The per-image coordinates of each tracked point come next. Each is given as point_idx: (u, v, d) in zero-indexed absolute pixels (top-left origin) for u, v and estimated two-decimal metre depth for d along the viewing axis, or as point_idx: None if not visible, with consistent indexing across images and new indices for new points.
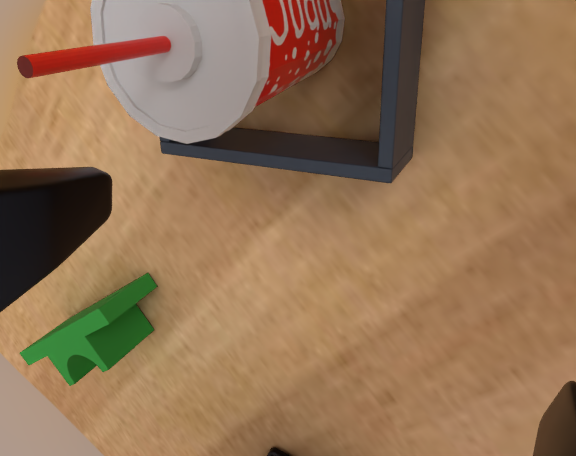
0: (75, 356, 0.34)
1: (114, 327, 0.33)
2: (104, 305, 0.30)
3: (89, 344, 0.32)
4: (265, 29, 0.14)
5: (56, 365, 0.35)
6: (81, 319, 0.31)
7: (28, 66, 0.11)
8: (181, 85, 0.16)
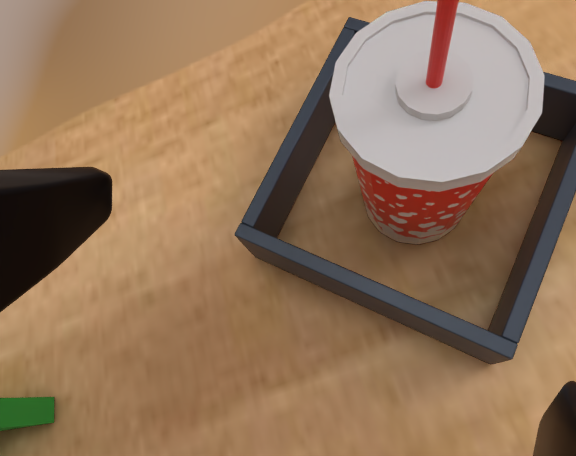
0: None
1: None
2: None
3: None
4: None
5: None
6: None
7: None
8: (422, 125, 0.15)
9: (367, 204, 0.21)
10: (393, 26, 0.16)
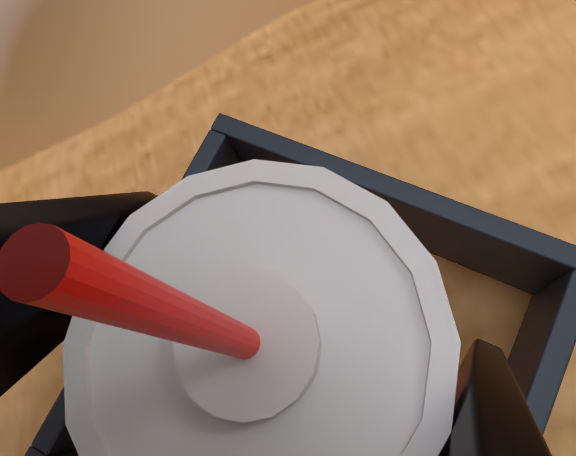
0: None
1: None
2: None
3: None
4: None
5: None
6: None
7: (46, 267, 0.03)
8: (221, 429, 0.07)
9: None
10: (195, 205, 0.09)
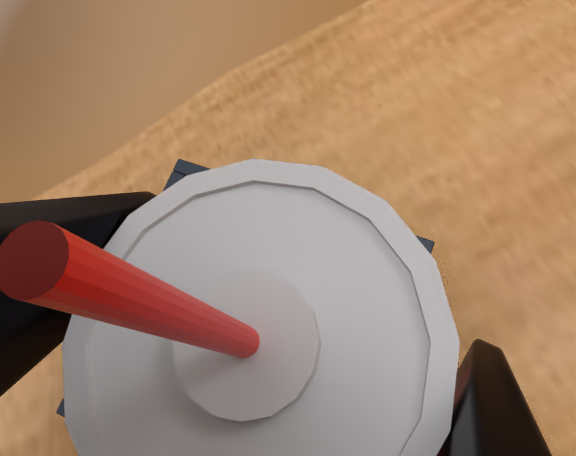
0: None
1: None
2: None
3: None
4: None
5: None
6: None
7: (45, 265, 0.03)
8: (221, 428, 0.07)
9: None
10: (195, 205, 0.09)
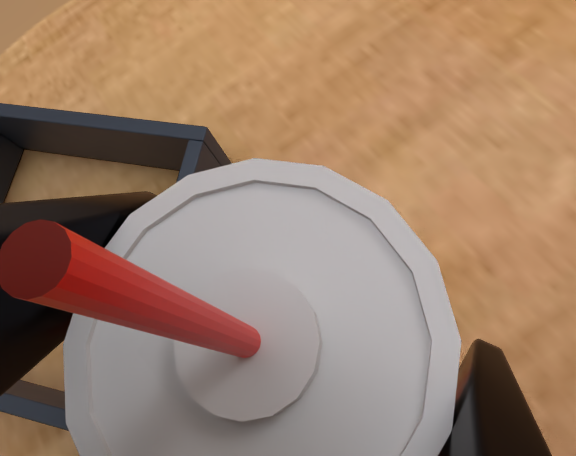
0: None
1: None
2: None
3: None
4: None
5: None
6: None
7: (46, 263, 0.03)
8: (222, 429, 0.07)
9: None
10: (196, 204, 0.09)
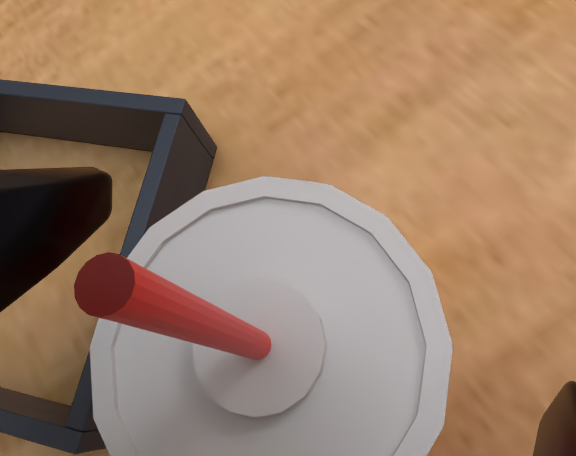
0: None
1: None
2: None
3: None
4: None
5: None
6: None
7: (116, 288, 0.04)
8: (235, 424, 0.08)
9: None
10: (211, 218, 0.09)
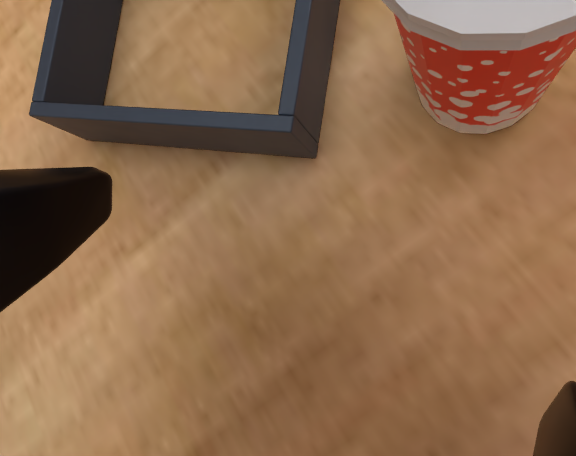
0: None
1: None
2: None
3: None
4: None
5: None
6: None
7: None
8: None
9: (420, 88, 0.17)
10: None
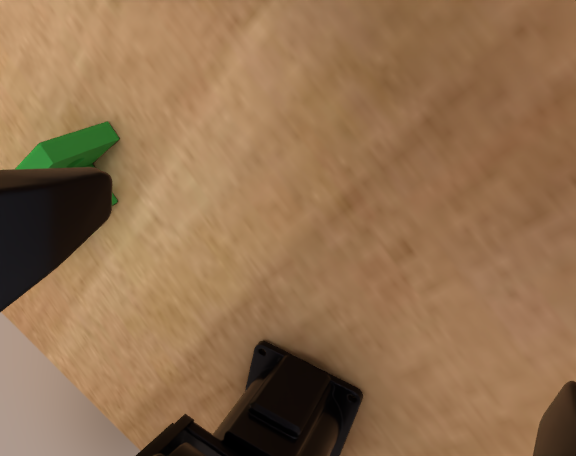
0: None
1: None
2: (47, 141, 0.24)
3: None
4: None
5: None
6: (21, 164, 0.25)
7: None
8: None
9: None
10: None
